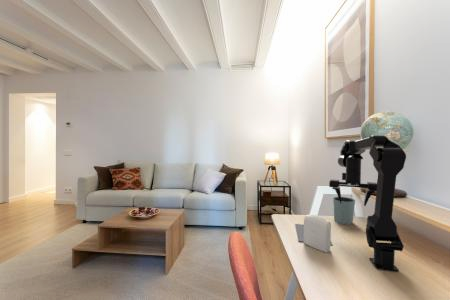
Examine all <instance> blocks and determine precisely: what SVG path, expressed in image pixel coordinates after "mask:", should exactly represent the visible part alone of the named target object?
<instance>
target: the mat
mask: <svg viewBox="0 0 450 300" xmlns="http://www.w3.org/2000/svg"><path fill="white" fill-rule="evenodd" d="M294 225H295V229H296V230H295V231H296V234H297V235H296V236H297V241H298V243H303V244H305V243H304V224H301V223H300V224H299V223H295V224H294ZM333 245H334V244H333V243H332V241H331V244H330V247H331V246H332V247H333Z"/></svg>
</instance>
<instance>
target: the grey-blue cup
mask: <svg viewBox="0 0 450 300" xmlns="http://www.w3.org/2000/svg"><path fill="white" fill-rule="evenodd" d="M332 198H333V200H332V201H333V220H334V222H335V223H337V224H341V225H348V226H349V225H352V224H353V223H354V212H355V204H356V199H354V198H351V197H346V196H341V203H340V201H339V198H338V196H334V197H332Z"/></svg>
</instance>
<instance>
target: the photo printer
mask: <svg viewBox="0 0 450 300" xmlns="http://www.w3.org/2000/svg"><path fill="white" fill-rule="evenodd" d="M303 225H304V243H303V244H305V245H308V246H309V247H312V248H314V249H317V250H319V251H321V252H324V253H328V252H330V251H331V246H330V244H331V242H332V240H331V239H332V238H331V237H332V233H331V231H332V222H331V221H330V220H328V219H327V218H325V217H323V216H319V215H315V214H306V215H305V216H304V218H303Z"/></svg>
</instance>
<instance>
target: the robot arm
mask: <svg viewBox="0 0 450 300" xmlns="http://www.w3.org/2000/svg"><path fill="white" fill-rule="evenodd" d="M366 150H369V151H368V153H369V155H370V157H371V159H372V160H373V161H372V162H373V163H372V164H373V165H372V166H373V167H374V168H375V170H376V172H377V182H370V181H367V182H366V183H361V181H362V178H361V177H362V160H363V159H364V158H363V156H362V154H363V153H366ZM406 159H407V154H406V152H405V151H404V150H403V148H402V147H401V146H400V145H399V144H398V143H395V142H393V141H392V140H390V139H389V138H388V136H385V135H369V137H366V138H362V139H359V140H346V141H345V142H344V143H343V145H342V148H341V149H340V156H339V157H338V159H337V164H338V165H339V167H341V168H345V172H342V173H341V180H342V181H340V179H329V188H332V190H334V191H335V193H336V194H337V197H338V198H339V201H340V203H341V197H342V194H341V187H348V188H361V189H365V195H364V201H363V206H364V207H366V206H367V204H368V201H369V199H370V198H371V196H372V195H373V194H375V202H374V203H375V204H374V213H373V214H372V215H368V216H367V219H366V220H367V221H366V225H365V226H366V227H365V235H366V242H367V244H368V247H369V248H372V249H373V257H369V261H370V262H371V263H372V265H373V266H374V267H375V269H377V270H385V271H389V272H390V271H391V272H400V269H399V268H398V267H397V266H396V265H395V254H396V252H395V251H397V252H398V251H400V252H402V251H403V249H404V244H403V242H402V239H401V238H400V235H399V232H398V226H397V224H396V222H395V221H394V219H393V212H394V211H393V210H394V201H395V200H394V199H395V192H396V191H395V190H396V185H397V184H396V182H397V176H398V175H399V174H400V173H401V171H402V170H403V169H404V167H405V163H406ZM343 181H345V182H343Z"/></svg>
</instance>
